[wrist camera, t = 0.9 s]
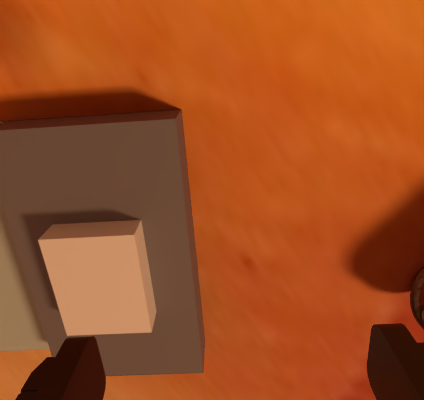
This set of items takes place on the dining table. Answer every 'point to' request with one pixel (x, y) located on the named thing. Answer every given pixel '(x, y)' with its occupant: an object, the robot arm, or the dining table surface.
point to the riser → (110, 211)
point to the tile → (100, 277)
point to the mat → (16, 299)
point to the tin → (418, 298)
